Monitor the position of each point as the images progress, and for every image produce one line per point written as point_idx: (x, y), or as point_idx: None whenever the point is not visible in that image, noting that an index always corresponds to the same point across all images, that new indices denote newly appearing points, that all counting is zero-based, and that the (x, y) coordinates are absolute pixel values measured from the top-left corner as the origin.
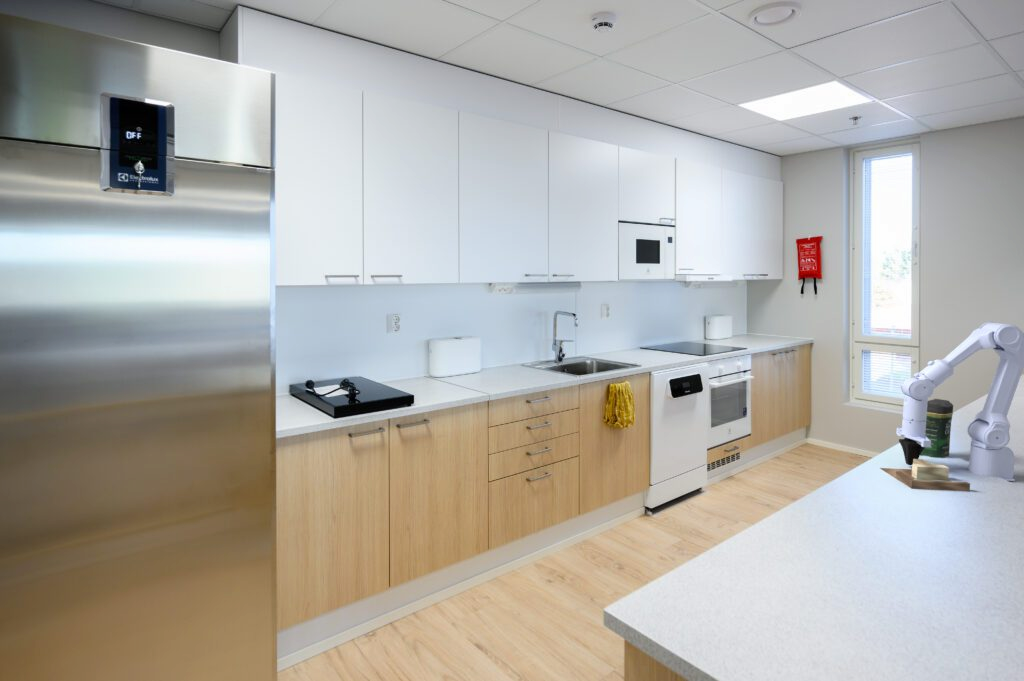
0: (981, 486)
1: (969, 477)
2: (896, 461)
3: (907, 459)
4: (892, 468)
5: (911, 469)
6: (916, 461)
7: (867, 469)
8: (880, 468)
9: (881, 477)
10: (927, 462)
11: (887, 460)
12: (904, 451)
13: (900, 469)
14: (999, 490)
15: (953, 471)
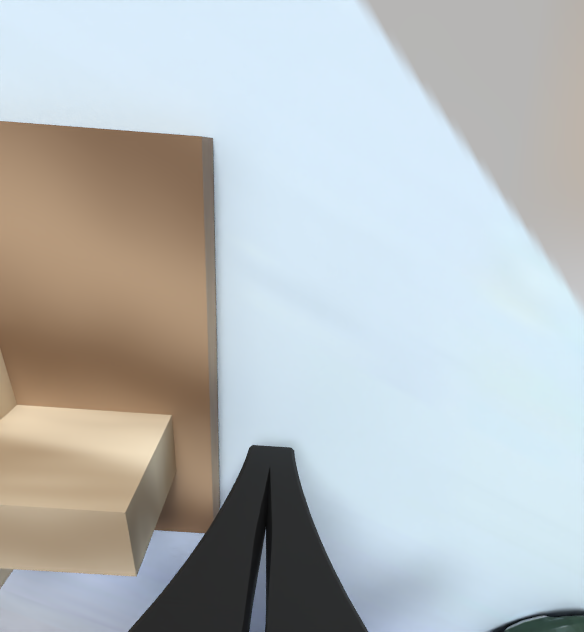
0: (44, 599)
1: None
2: (518, 457)
3: (244, 480)
4: (204, 279)
5: (205, 424)
6: (61, 499)
7: (297, 37)
8: (179, 136)
9: (6, 45)
10: (17, 560)
11: (558, 412)
12: (292, 552)
13: (187, 339)
14: (6, 626)
15: None
